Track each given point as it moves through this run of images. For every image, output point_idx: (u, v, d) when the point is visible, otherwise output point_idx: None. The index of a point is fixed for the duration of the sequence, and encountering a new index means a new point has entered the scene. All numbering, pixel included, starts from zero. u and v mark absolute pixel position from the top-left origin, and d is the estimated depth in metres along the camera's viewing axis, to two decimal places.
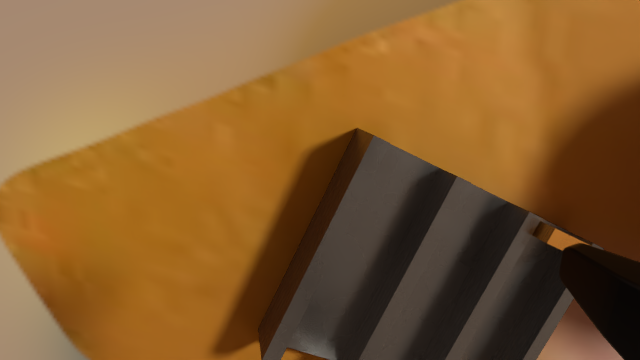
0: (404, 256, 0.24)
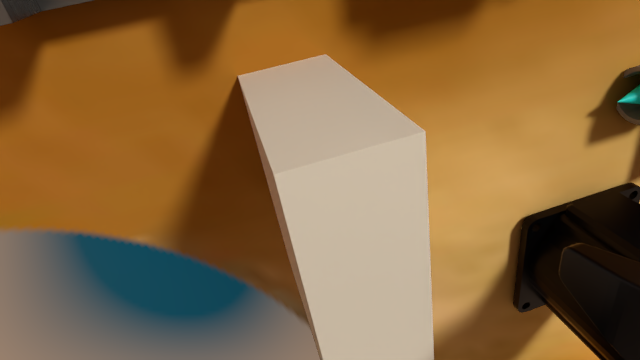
0: None
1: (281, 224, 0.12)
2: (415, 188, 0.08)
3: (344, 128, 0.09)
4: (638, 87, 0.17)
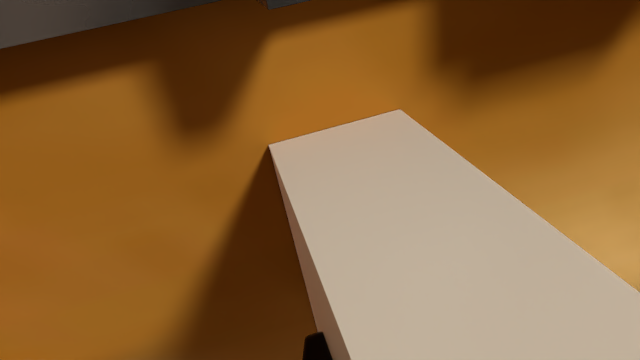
0: None
1: None
2: None
3: (537, 341, 0.04)
4: None
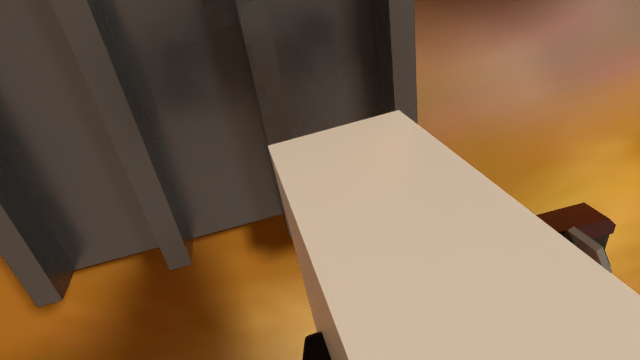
0: None
1: None
2: None
3: (534, 342, 0.04)
4: None
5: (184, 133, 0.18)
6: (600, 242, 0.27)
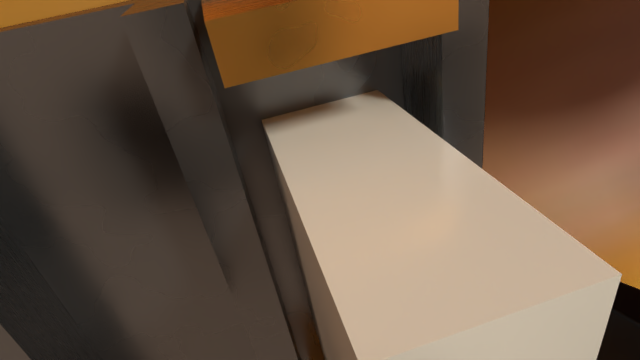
0: None
1: (322, 329, 0.09)
2: (581, 353, 0.05)
3: (459, 247, 0.05)
4: None
5: (140, 340, 0.12)
6: None
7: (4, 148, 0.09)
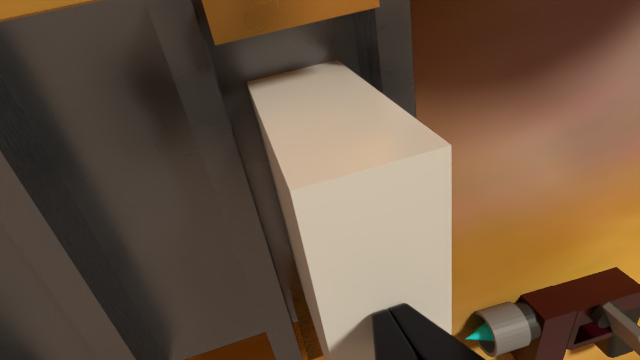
0: None
1: (291, 237, 0.12)
2: (438, 205, 0.08)
3: (363, 140, 0.08)
4: (482, 328, 0.23)
5: (151, 265, 0.15)
6: (635, 313, 0.24)
7: (52, 99, 0.12)
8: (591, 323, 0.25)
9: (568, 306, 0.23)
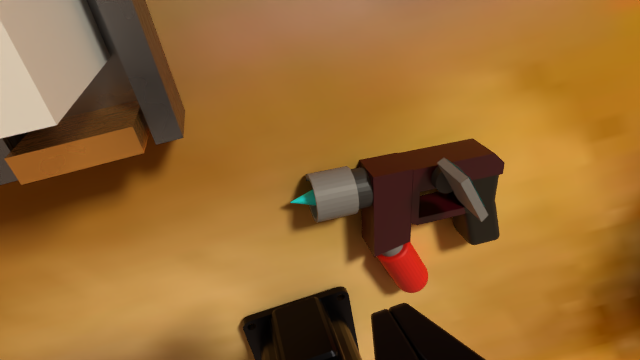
0: None
1: None
2: None
3: None
4: (309, 191, 0.20)
5: None
6: (487, 185, 0.22)
7: None
8: (445, 201, 0.23)
9: (404, 167, 0.20)
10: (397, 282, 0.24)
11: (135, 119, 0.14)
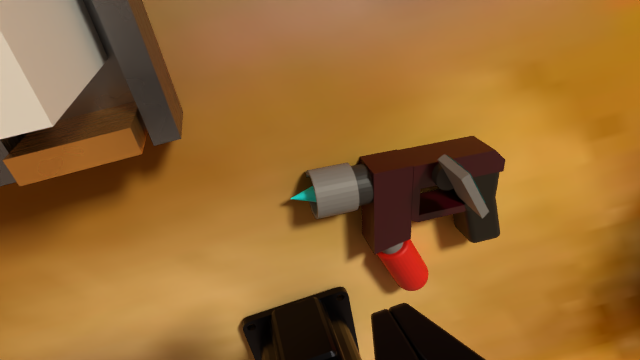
0: None
1: None
2: None
3: None
4: (309, 188, 0.20)
5: None
6: (488, 182, 0.22)
7: None
8: (446, 198, 0.23)
9: (404, 163, 0.20)
10: (397, 280, 0.24)
11: (133, 120, 0.14)
